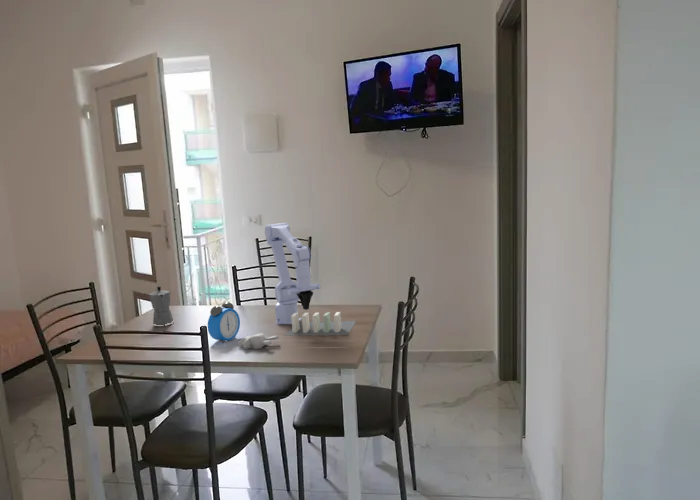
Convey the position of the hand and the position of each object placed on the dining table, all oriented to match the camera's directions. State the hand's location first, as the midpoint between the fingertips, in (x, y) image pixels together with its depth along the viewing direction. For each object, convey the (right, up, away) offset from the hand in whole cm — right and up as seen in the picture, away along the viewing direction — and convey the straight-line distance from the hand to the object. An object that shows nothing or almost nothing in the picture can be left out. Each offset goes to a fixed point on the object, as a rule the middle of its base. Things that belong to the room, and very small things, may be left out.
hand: (306, 309), depth 225 cm
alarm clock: (-33, -13, -2) cm, 35 cm away
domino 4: (+9, -9, 0) cm, 12 cm away
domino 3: (+4, -9, 0) cm, 10 cm away
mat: (+6, -9, +4) cm, 11 cm away
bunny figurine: (-17, -14, -14) cm, 26 cm away
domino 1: (-4, -9, +2) cm, 10 cm away
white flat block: (+13, -9, -1) cm, 16 cm away
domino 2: (0, -9, +1) cm, 9 cm away
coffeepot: (-69, -10, +30) cm, 76 cm away
